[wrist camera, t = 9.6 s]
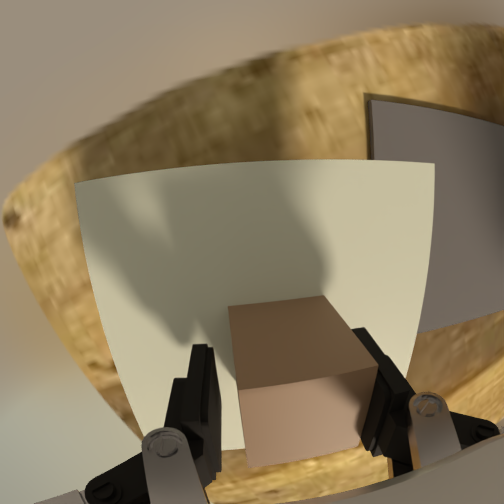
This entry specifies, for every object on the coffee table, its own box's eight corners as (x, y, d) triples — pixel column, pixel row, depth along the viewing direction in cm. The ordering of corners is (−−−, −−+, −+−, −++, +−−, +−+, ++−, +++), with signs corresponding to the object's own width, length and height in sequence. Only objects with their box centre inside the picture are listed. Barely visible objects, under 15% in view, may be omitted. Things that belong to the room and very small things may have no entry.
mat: (521, 132, 21) (524, 132, 20) (502, 306, 26) (505, 308, 26) (367, 101, 20) (371, 99, 19) (360, 341, 25) (363, 344, 25)
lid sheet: (424, 162, 12) (520, 174, 7) (388, 407, 17) (428, 469, 11) (82, 181, 11) (-5, 202, 5) (152, 442, 15) (144, 521, 10)
